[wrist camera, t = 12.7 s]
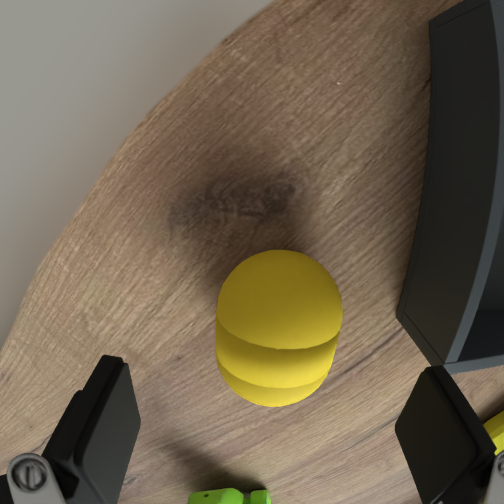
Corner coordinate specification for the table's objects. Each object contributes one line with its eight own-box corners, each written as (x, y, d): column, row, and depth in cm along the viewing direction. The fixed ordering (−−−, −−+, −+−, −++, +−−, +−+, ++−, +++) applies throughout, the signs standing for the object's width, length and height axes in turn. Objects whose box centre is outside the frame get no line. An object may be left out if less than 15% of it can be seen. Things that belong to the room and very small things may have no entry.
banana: (425, 497, 19) (446, 502, 25) (571, 392, 15) (552, 429, 21) (412, 461, 23) (437, 477, 29) (549, 362, 19) (539, 406, 25)
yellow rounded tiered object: (218, 231, 15) (218, 278, 10) (328, 237, 16) (377, 281, 11) (214, 359, 18) (215, 431, 13) (307, 357, 19) (334, 424, 13)
